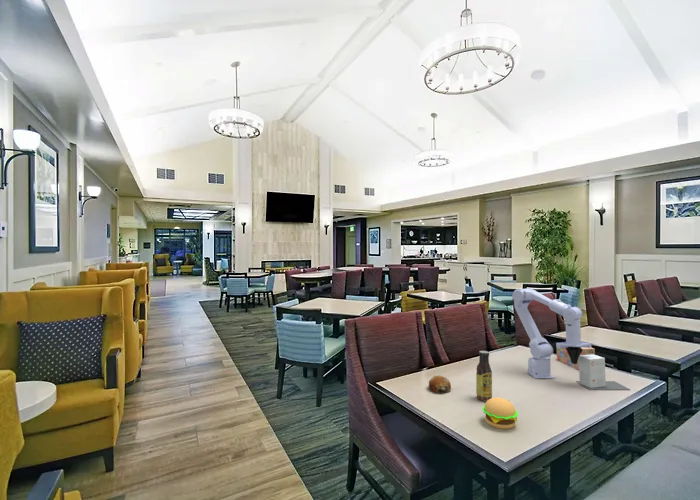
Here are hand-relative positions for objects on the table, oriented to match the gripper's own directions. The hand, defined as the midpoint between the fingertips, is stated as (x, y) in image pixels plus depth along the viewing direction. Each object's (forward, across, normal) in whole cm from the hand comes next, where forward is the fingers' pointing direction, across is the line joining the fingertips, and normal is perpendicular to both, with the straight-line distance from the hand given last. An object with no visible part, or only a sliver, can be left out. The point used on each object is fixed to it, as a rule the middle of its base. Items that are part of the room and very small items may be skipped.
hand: (574, 363), depth 159 cm
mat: (+10, +12, 0) cm, 16 cm away
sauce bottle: (+10, -45, -15) cm, 49 cm away
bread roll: (+11, -62, -5) cm, 63 cm away
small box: (+10, +8, 0) cm, 13 cm away
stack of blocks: (+11, +16, +29) cm, 34 cm away
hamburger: (+11, -46, -36) cm, 60 cm away
